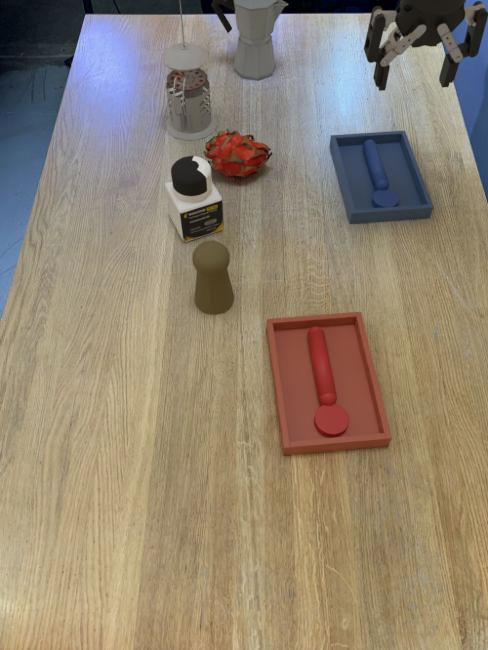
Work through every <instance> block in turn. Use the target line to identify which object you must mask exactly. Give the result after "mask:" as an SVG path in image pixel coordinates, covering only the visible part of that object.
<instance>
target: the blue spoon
mask: <svg viewBox="0 0 488 650" xmlns="http://www.w3.org/2000/svg"><path fill="white" fill-rule="evenodd" d="M363 150H364V154H365V157H366V160H367V163H368V166H369V170H370V173H371V176H372V179H373V182H374V186H375V188H376V190H377V191H375V192H374V194H373V197H372V205H373V206H374V208H384V207H397V206H398V203H399V196H398V194H397V193H396V192H394V191H393V190H390V189H388V188H389V181H388V178H387V175H386V172H385V169H384V166H383V163H382V160H381V157H380V154H379V151H378V148H377V145H376V143H375V141H373V140H367V141H365V142H364V144H363Z"/></svg>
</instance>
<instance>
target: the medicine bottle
mask: <svg viewBox="0 0 488 650" xmlns="http://www.w3.org/2000/svg"><path fill="white" fill-rule="evenodd" d="M210 164H211V163H210ZM210 164H209V163H208V160H206V159H205V158H204V157H203V158H202V157H200V156H197V155H188V156H187V155H186V156H184V157H181V158H179V159H177V160H176V161H174V163H173V164H172V165H171V169H170V176H171V181H168V182H165V183H164V190H165V197H166V202H167V211H168V215H169V217H170V219H171V221H172V223H173V225H174V227H175V229H176V230H177V232H178V235H179V236H180V238H181V240H182V242H183V243H188V242H191V241H193V240H194V241H195V240H197V239H200V238H203V237H206V236H209V235H212V234H215V233H218V232H221V231H223V230H224V229H225V227H224V225H225V224H224V207H223V206H224V205H223V198H222V196H221V194H220V192H219V190H218V189H217V187H216V186H215V184H214V182H213V180H212V177H213V176H212V169H211V167H210Z"/></svg>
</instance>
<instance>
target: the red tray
mask: <svg viewBox="0 0 488 650" xmlns="http://www.w3.org/2000/svg"><path fill="white" fill-rule="evenodd" d="M363 319H364V318H363V316H362V311H351V312H340V313H339V312H338V313H326V314H314V315H312V314H311V315H300V316H299V315H298V316H288V317H275V318H266V322H265V323H266V325H265V330H266V337H267V345H268V353H269V361H270V367H271V375H272V382H273V389H274V397H275V405H276V412H277V420H278V427H279V433H280V434H279V435H280V442H281V450H282V456H292V455H293V456H294V455H303V454H313V453H314V454H315V453H325V452H336V451H338V452H339V451H347V450H360V449H372V448H381V447H382V448H383V447H389V445H390V443H391V441H392V439H393V438H392V433H391V430H390V425H389V421H388V417H387V412H386V408H385V405H384V402H383V401H384V400H383V396H382V393H381V388H380V385H379V381H378V376H377V373H376V369H375V365H374V360H373V356H372V352H371V347H370V344H369V340H368V335H367V331H366V327H365V323H364V320H363ZM314 326H318V327H320V328H322V329H323V331H324V334H325V339H326V344H327V349H328V354H329V359H330V364H331V369H332V374H333V379H334V384H335V389H336V394H337V401H336V403H335V404H337V405H340V406H341V407H343V408H344V409H345V411H346V412H347V414H348V417H349V423H348V427H347V429H346V431H345V432H344V433H343V434H342V435H341V436H339V437H334V438H329V437H325V436H323V435H322V434H320V433H319V432H318V431H317V429H316V427H315V425H314V418H315V413H316V411H317V409H318V408H319V407H320V406H322V404H321V403H320V401H319V397H318V391H317V386H316V380H315V374H314V369H313V363H312V358H311V352H310V347H309V341H308V331H309V329H310V328H312V327H314Z"/></svg>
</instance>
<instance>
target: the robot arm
mask: <svg viewBox="0 0 488 650" xmlns="http://www.w3.org/2000/svg"><path fill="white" fill-rule="evenodd" d="M466 2H467V0H400V1H399V3H398V6H397V7H396V9H395V10H383V8H382V6H380V5H376V6H374V7H373V8H372V10H371V13H370V18H369V23H368V27H367V31H366V35H365V41H364V46H363V51H364V54H365V59H366V61H367V62H368V63H369V64H372V63H375V66H374V70H373V71H374V72H373V82H374V84H375V87H376V88H378V91H379V92H384V91H386V88H387V83H388V78H389V73H390V69H391V66H390V64H391V63H392V62H393V60H395V59H396V58H397V57H398V56H401V55H403V54H404V52H406V50H407V49H408V48H409V47H410V46H411V48H412V49H414V48H421V47H424V46H426V47H430V48H432V47H437V46H438V45H439V44H441V43H442V42H443V44H444V46H445V48H446V50H447V51H448V53H445V55H444V58H443V62H442V65H441V69H440V73H439V76H438V81H439V84H440V86H441V88H449V86H450V84H452V83H453V82H454V80H455V79H456V75H457V71H458V70H459V66H460V63H461V61H463V59H465V58H467V57H469V58H475V57H476V56H478V55H479V51H480V48H481V44H482V40H483V37H484V33H485V28H486V26H487V25H486V24H487V21H488V10H487V8H486V6H485V5H484V3H483V2H482V1H481V0H476V1H475V2H473V4H472V5H468V6H465V4H466ZM464 19H465V22H466V24H467V28H466V32H465V36H464V39H463V42H460V43H457V41H456V39H455V37H454V35H453V32H454V31H455V30H456V29H457V27H458V26H459V25H460V24H461V23H462V22H464ZM393 23H395V25H396V26H395V27H394V29H392V30H391V32H390V33H389V35H388V36H387V40H385V41H384V42H383V43H382V44H381V42H382V39H383V35H384V32H387V31H388V29H389V27H390V25H391V24H393Z"/></svg>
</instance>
